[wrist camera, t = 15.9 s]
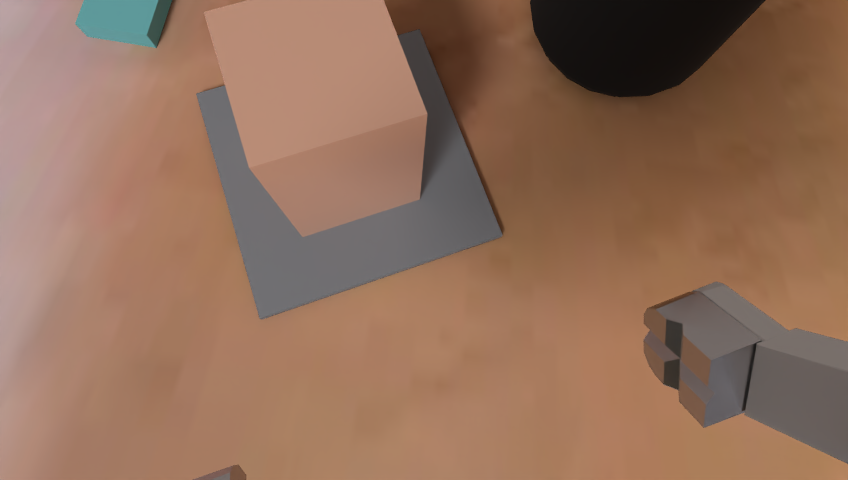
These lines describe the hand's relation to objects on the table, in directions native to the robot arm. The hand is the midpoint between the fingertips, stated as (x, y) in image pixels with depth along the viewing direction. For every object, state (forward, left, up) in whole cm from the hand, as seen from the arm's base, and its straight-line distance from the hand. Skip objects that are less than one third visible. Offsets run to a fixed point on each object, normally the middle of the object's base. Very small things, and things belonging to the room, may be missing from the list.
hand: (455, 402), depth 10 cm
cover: (-5, +11, -16) cm, 20 cm away
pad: (-5, +11, -16) cm, 20 cm away
